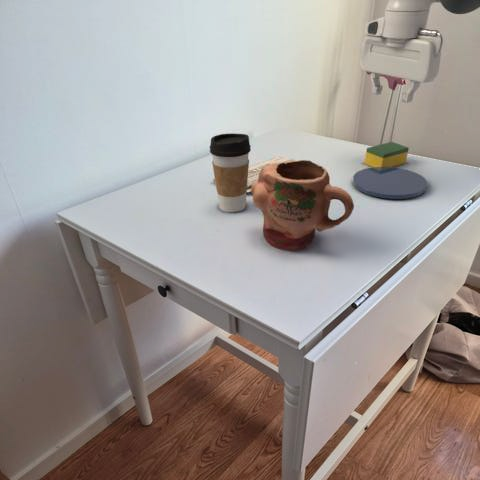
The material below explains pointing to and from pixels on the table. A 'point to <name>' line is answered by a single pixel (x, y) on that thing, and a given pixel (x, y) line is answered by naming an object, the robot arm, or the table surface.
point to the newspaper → (255, 170)
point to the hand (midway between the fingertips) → (391, 97)
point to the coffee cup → (231, 169)
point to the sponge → (386, 155)
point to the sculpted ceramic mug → (296, 202)
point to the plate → (390, 182)
